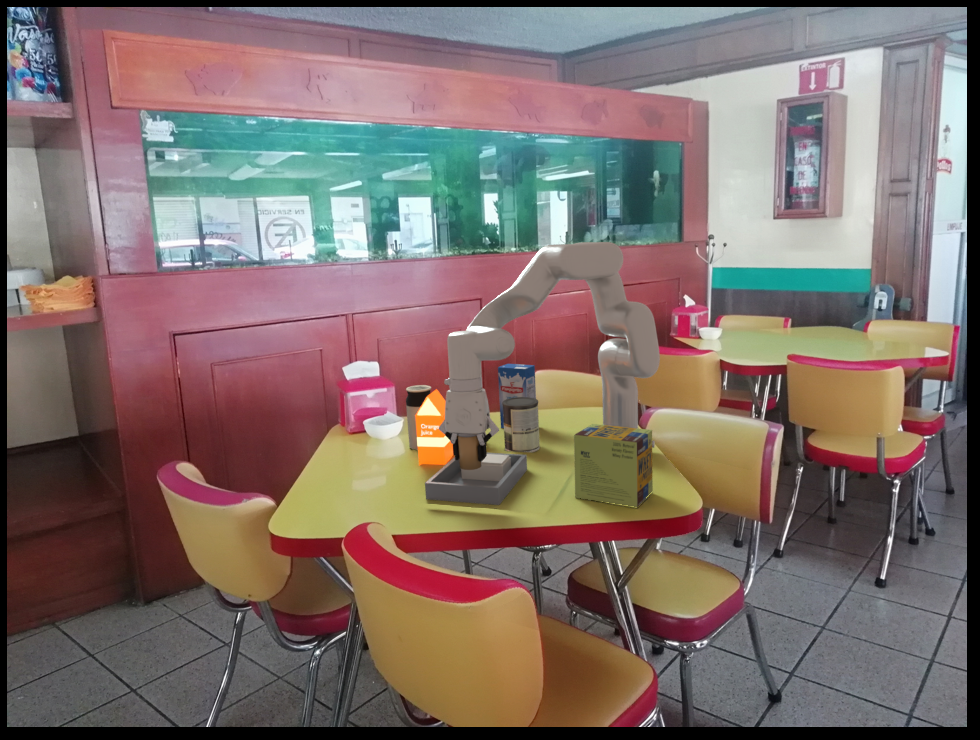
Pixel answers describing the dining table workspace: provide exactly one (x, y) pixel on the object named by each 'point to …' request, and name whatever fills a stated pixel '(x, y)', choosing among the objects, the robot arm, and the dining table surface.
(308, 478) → the dining table surface
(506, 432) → the coffee can
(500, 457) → the egg box
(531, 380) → the milk carton
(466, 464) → the amber jar
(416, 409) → the travel mug
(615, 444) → the protein box
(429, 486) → the tray
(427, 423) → the orange juice
